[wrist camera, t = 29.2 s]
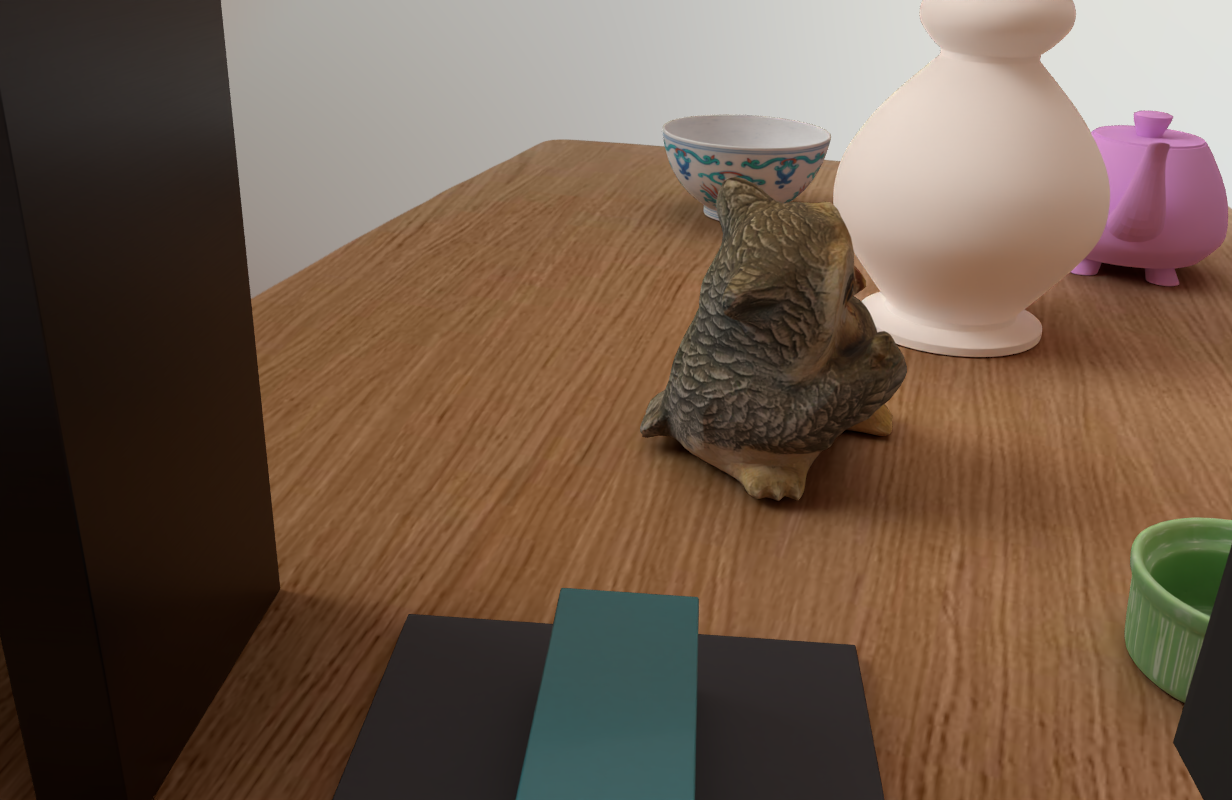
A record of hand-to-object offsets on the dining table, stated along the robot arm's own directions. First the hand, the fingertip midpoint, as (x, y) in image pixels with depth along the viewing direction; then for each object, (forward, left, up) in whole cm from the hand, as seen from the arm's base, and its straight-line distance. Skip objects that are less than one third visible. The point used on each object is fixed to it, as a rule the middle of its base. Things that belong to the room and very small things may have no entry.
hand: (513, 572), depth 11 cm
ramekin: (+24, +31, -22) cm, 45 cm away
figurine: (+7, +47, -22) cm, 52 cm away
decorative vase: (+20, +70, -22) cm, 76 cm away
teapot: (+37, +86, -22) cm, 96 cm away
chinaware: (+6, +97, -22) cm, 99 cm away
